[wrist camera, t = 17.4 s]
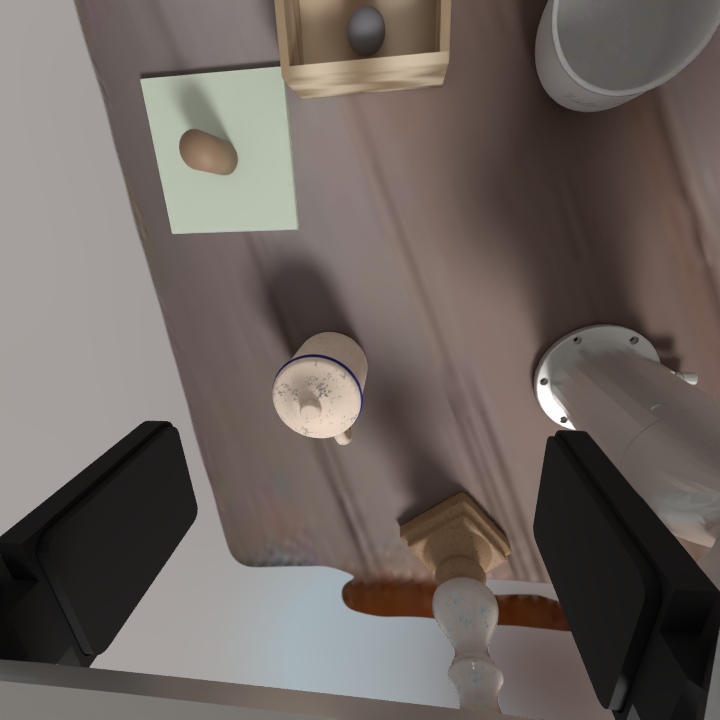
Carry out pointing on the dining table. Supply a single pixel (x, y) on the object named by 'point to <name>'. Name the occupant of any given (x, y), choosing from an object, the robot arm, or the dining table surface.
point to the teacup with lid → (322, 387)
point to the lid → (224, 150)
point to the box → (344, 66)
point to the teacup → (618, 47)
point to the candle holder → (463, 591)
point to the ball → (366, 30)
